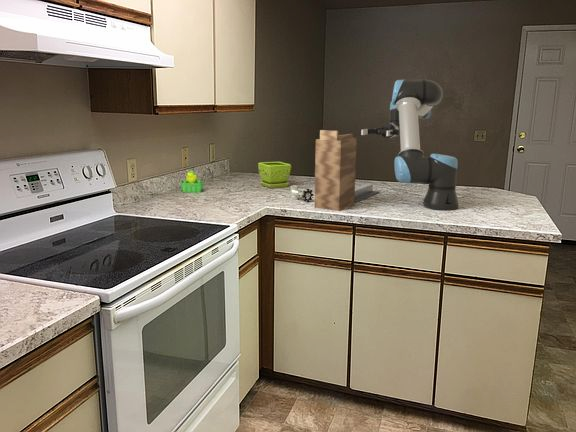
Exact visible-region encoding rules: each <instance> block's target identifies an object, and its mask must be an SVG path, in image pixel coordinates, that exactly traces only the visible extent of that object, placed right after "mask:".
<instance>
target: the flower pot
mask: <svg viewBox="0 0 576 432" xmlns="http://www.w3.org/2000/svg"><path fill="white" fill-rule="evenodd" d="M257 167H258V173H259V176H260V179H261V181H260V184H261V185H262V186H263V187H267V188H270V189H276V188H286V187H288V186H289V185H290V184H289V182H288V179H290V178H289V177H290V175H291V170H292V165H291V163H285V162H283V161H265V162H258V164H257Z"/></svg>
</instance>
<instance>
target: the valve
mask: <svg viewBox="0 0 576 432" xmlns="http://www.w3.org/2000/svg"><path fill="white" fill-rule="evenodd" d="M312 192H313V189H310V188H308V187H307V188H306V189H305V190H303V191H301V190H299V185H296V184H294V185H290V191H289V194H290V198H289V199H290V200H291V201H298V200H299V198H300V197H302V198H304V199H303V200H302V201H303V202H306V203H307V204H308V203H309V204H310V201H313V198H312V197H315V193H312Z"/></svg>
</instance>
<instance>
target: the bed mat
mask: <svg viewBox="0 0 576 432" xmlns="http://www.w3.org/2000/svg"><path fill="white" fill-rule="evenodd" d="M377 194H380V191H377V190H373V191H371V192H369V193H367V194H364V195H362V196H359V197H357V198H354V204H355V203H356V204H357V203H360V202H362V201H364V200H366V199H368V198H371V197H374V196H375V195H377Z"/></svg>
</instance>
